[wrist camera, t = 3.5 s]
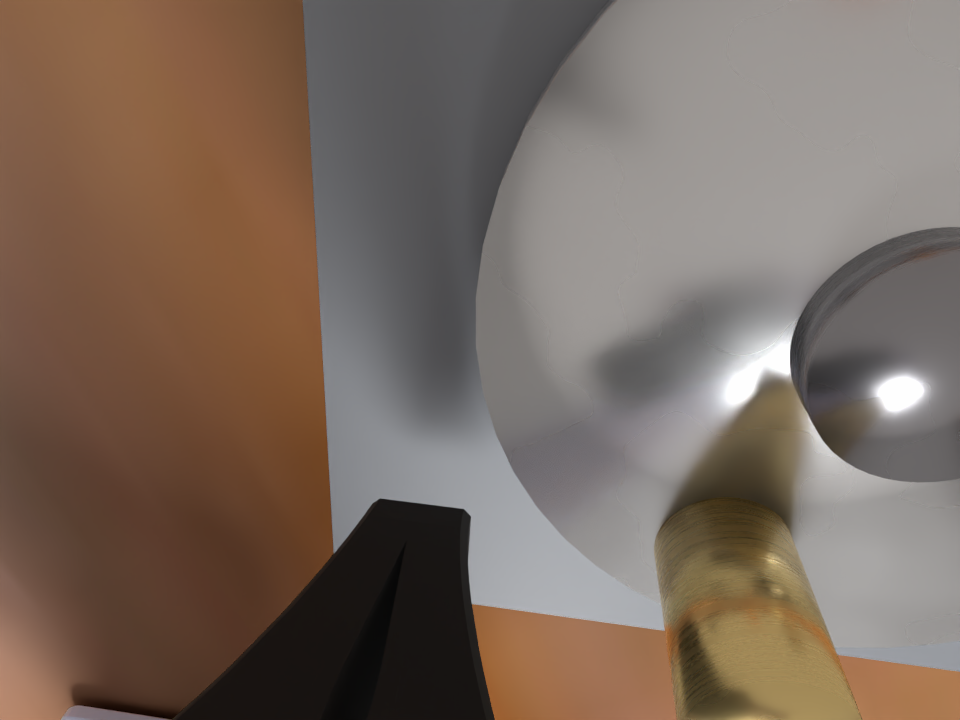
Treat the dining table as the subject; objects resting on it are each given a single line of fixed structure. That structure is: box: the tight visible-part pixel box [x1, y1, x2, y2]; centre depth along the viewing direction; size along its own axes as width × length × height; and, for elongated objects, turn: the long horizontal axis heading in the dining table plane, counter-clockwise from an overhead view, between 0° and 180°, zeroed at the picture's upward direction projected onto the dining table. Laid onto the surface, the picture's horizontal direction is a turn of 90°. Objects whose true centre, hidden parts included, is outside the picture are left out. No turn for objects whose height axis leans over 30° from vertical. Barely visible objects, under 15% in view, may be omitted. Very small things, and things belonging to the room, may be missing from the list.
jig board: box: [303, 0, 960, 672], centre depth 9 cm, size 14×16×5 cm
